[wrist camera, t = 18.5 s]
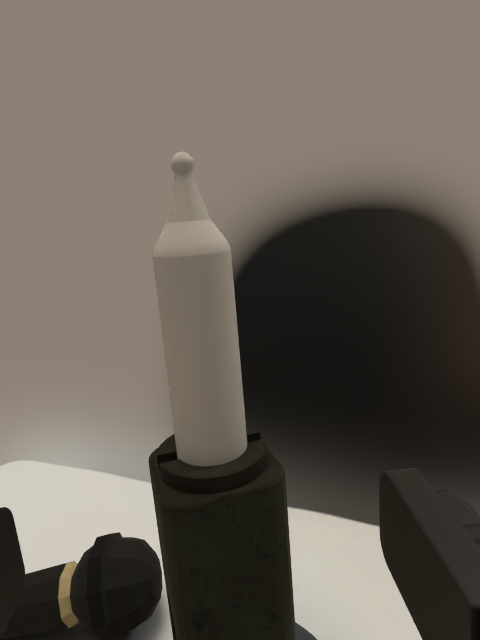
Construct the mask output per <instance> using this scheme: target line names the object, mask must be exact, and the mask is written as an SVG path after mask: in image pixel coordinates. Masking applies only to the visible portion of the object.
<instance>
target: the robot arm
mask: <svg viewBox="0 0 480 640" xmlns="http://www.w3.org/2000/svg"><path fill="white" fill-rule="evenodd" d="M379 509H380V511H379V512H380V540H381V546H382V551H383V554H384V558H385V561H386V564H387V566H388V568H389V570H390V572H391V574H392V576H393V579H394V581H395V583H396V585H397V587H398V589H399V591H400V593H401V595H402V597H403V600H404V602H405V604H406V606H407V608H408V610H409V612H410V614H411V616H412V618H413V621H414V623H415V625H416V627H417V629H418V631H419V633H420V635H421V637H422V639H423V640H480V516H479V515H478V514H477V513H476V511H475V510H474V509H473V508H472V507H471V506H470V504H468V503H467V502H465V501H464V500H462V499H460V498H459V497H457V496H456V495H454V494H452V493H451V492H449V491H448V490H440V491H435V490H434V489H433V488H432V486H431V485H430V484H429V482H428V481H427V480H426V479H425V477H424V476H423V475H422V474H421V472H420V471H419V470H418V469H416V468H412V469H401V470H391V471H383V472H381V473H380V477H379ZM24 583H25V568H24V563H23V559H22V554H21V550H20V545H19V541H18V536H17V532H16V527H15V523H14V518H13V515H12V513H11V511H10V510H9V509H8V508H6V507H3V508H0V639H1V637H2V635H3V633H4V631H5V629H6V627H7V625H8V623H9V621H10V620H11V618H12V616H13V614H14V612H15V610H16V608H17V606H18V604H19V602H20V600H21V597H22V594H23V589H24Z"/></svg>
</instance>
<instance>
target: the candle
mask: <svg viewBox="0 0 480 640" xmlns="http://www.w3.org/2000/svg"><path fill="white" fill-rule="evenodd" d="M171 168H172V170H173V172H174V173H175V176H174V182H173V188H172V194H171V199H170V205H169V211H168V217H167V223H166V225H165V227H164V229H163V231H162V233H161V235H160V237H159V239H158V241H157V243H156V245H155V248H154V250H153V263H154V271H155V280H156V288H157V296H158V304H159V312H160V320H161V329H162V337H163V345H164V352H165V360H166V369H167V377H168V385H169V393H170V400H171V409H172V417H173V425H174V435H172V436H170V437H169V438H167V439H166V440H165V441H164V442H163V443H162V444H161V445H160V447H159V448H157V449H156V450H155V451H154V452H153V453H152V454H151V455H150V457H149V468H150V476H151V483H152V490H153V497H154V504H155V511H156V519H157V526H158V533H159V540H160V547H161V554H162V561H163V568H164V576H165V583H166V590H167V597H168V604H169V611H170V618H171V625H172V633H173V640H296V633H295V618H294V603H293V587H292V572H291V556H290V541H289V526H288V510H287V496H286V479H285V470H284V467H283V465H282V464H281V463H280V461H279V460H278V459H277V458H276V456H275V455H274V454H273V453H272V451H271V450H270V449H269V448H268V446H267V441H266V439H263V440H262V439H261V437H260V432H259V431H258V430H257V429H254V428H252V427H250V426H247V425H246V424H245V413H244V401H243V389H242V377H241V365H240V355H239V342H238V330H237V319H236V306H235V295H234V284H233V271H232V259H231V249H230V246H229V243H228V242H227V240H226V239H225V238H224V236H223V235H222V233H221V232H220V231H219V230H218V229H217V227H216V226H215V225H214V223H213V222H212V221H211V219H210V217H209V214H208V212H207V209H206V207H205V204H204V202H203V199H202V197H201V194H200V192H199V189H198V186H197V184H196V181H195V179H194V176H193V174H192V171H193V168H194V160H193V159H192V158H191V157H190V155H189V154H187V153H185V152H178V153H177V154H175V156H174V157H173V158H172V160H171Z"/></svg>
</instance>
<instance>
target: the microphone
mask: <svg viewBox="0 0 480 640" xmlns="http://www.w3.org/2000/svg"><path fill="white" fill-rule="evenodd" d="M161 592H162V571H161V566H160V561H159V558H158V556H157V554H156V552H155V551H154V550H153V549H152V548H151V547H150V546H149V545H148V543H147V542H146V541H145V540H142V539H137V538H131V537H122V536H121V534H120V532H119V533H113V534H108V535H104V536H100V537H97V538H96V541H95V543H94V546H92V547H91V548H90V549H88V550H87V551H86V552H85V553H84V554H83V556H82V558H81V560H80V561H79V563H76V562H75V561H73V562H69V563H65V564H62V565H58V566H54V567H50V568H47V569H43V570H39V571H36V572H32V573H28V574H25V583H24V589H23V594H22V597H21V600H20V602H19V604H18V606H17V608H16V610H15V612H14V614H13V616H12V618H11V620H10V621H9V623H8V625H7V627H6V629H5V631H4V633H3V635H2V637H1V638H5V637H12V636H19V635H26V634H33V633H40V632H47V631H54V630H62V629H69V628H71V627H72V626H74V625H76V624H77V623H78V622H79V621H80V622H81V624H82V625H83V626H84V627H85V629H86V630H87V631H88V633H91V634H93V635H96V636H97V637H98V638H99V640H121V639H123V638H124V637H125V636H126V635H128V631H130V630H133V629H134V628H136V627H137V626H138V625H140V624H141V623H143V622H144V621H146V620H147V619H148V618H149V617H151V616H152V614H153V612H154V610H155V608H156V606H157V604H158V602H159V600H160V598H161Z"/></svg>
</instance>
